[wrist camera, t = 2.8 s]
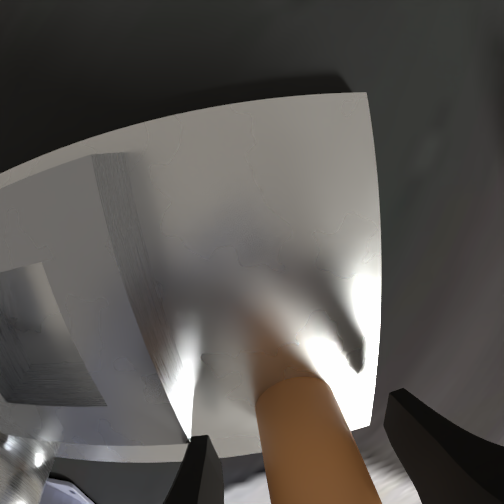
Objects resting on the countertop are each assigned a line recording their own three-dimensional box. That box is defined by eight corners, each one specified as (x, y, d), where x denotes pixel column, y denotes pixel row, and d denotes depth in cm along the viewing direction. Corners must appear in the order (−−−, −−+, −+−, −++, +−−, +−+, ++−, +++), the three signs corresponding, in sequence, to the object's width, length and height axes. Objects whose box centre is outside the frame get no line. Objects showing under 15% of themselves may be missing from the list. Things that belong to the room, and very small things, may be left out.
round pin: (332, 418, 12) (385, 552, 6) (261, 435, 12) (288, 578, 5) (332, 367, 11) (408, 526, 4) (249, 386, 11) (278, 564, 4)
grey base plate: (363, 413, 13) (417, 521, 7) (13, 439, 12) (-20, 516, 6) (355, 96, 9) (526, 56, 2) (-92, 229, 8) (-177, 277, 1)
